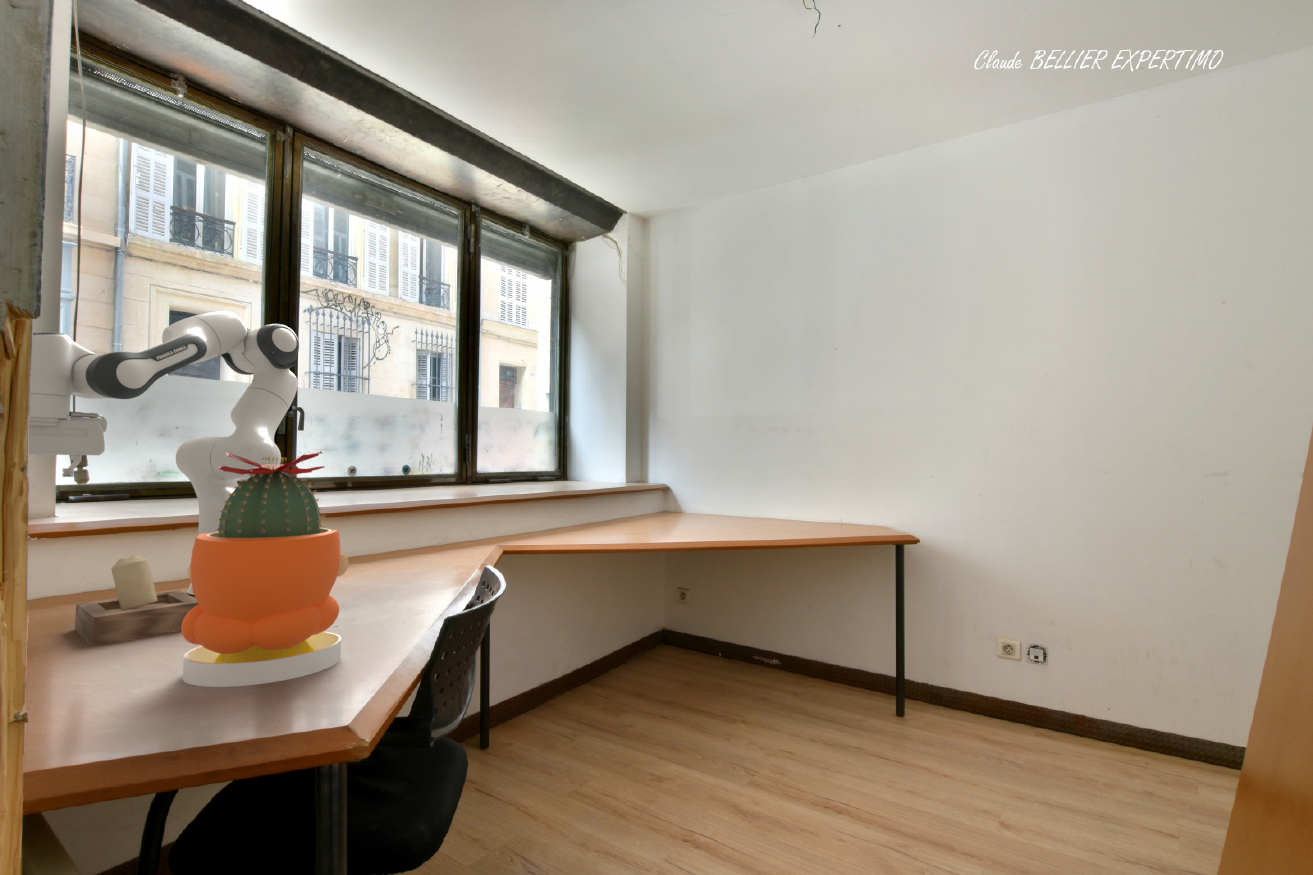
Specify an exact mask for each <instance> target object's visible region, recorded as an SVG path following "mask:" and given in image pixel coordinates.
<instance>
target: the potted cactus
mask: <svg viewBox="0 0 1313 875" xmlns="http://www.w3.org/2000/svg"><path fill="white" fill-rule="evenodd" d="M320 454H321V455H322V454H323V452H322V451H315V452H311V453H309V454H302V455H300V456H299V457H297V458H296V459H295V460H293V461H291V462H288V463H287V462H286V461H287V457H281V463H280V464H277V462H276V464H271V462H270V464H266V465H264V464H263V465H260V464H258V463H255V462H253V461H250V460H247V459H244V458H242V457H239V456H236V455H233V454H230V453H228V452H226V455H227V456H230V457H232V458H235V459H237V460H240V461H242V462H245V463H247V464H250V465H254V466H257V467H259V468H256V469H249V470H245V469H238V468H231V467H227V466H224V467H223V466H219V469H220V470H223V471H226V472H233V473H237V474H242V475H243V474H252V476H251V475H249V476H250V478H249V479H248V478H247V480H246V478H245V480H243V479H241V480H240V479H239V480H238V486H236V485H235V487H234V486H233V487H234V488H236V489H235V490H233V491H232V494H231V492H230V491H229V492H230V497H229V498H228V500H225V501H224V500H223V502H224V503H226V504H225V506H224V508H223V510H221V509H220V508H219V509H220V510H219V511H220V512H222V514H221V518H218V519H214V518H213V520H216V521H220V523H219V529H217V528H215V529H214V530H216V531H219V532H215V531H214V532H215V533H202V534H200V535H198V534H197V535H198V536H197V535H196V536H197V537H196V536H195V539H194V543H193V547H192V550H191V558H190V564H189V566H188V568H187V577H188V579H189V580H190V581H191V582H190V584H191V583H192V588H193V593H194V595H193V596H194V598H196V599H197V601H198V604H199V605H197V606H195V607H194V608H193V609H191V610H190V611H189V612H188V613H187V615H186V616H185V617H184V619H183V621H182V625H181V631H180V632H181V635H182V637H183V638H184V640H186V641H187V642H188V643H189V644H192V645H195V646H197V647H195V648H192V649H190V650H188V651H186V653H184V655H183V666H182V668H183V669H182V681H183V683H186V684H189V685H192V686H197V687H203V688H205V687H206V688H229V687H247V686H254V685H264V684H271V683H278V682H282V681H283V682H284V681H288V680H292V679H298V678H301V677H302V678H303V677H306V676H308V675H312V674H316V673H319V672H321V671H324V669H325V670H327V669H329V668H332V667H334V666H335V665H337V664H338V663H339V662H340V661H341V659H342V658H341V657H342V636H341V635H339V634H337V633H334V632H329V631H327V630H328V629H329V628H330V627H332V626H333V625H334V623H335V622H336V620H337V619H338V617H339V614H340V613H339V612H340V605H339V603H338V601H337V600H336V599H335V598H334V597H333V596H331V595H330V593H331V592H332V589H333V587H334V585H335V583H336V581H337V578H338V577H341V576H343V575H345V573H346V572H347V570H348V568H349V559H348V557H347V556H346V554H344V553H341V540H340V534H339V530H338V529H330V528H326V527H327V526H326V523H325V524H324V523H323V524H321V520H324V519H325V518H327V517H324V516H325V514H324V515H321V514H320V513H321V512H320V511H324V510H325V509H324V506H323V507H322V506H320V507H319V504H318V502H319V501H321V500H322V499H321V498H320V497H317V498H316V497H315V495H316V494H318V491H317V489H315V490H312V489H310V488H312V487H313V485H312V484H313V483H312V482H309V483H306V482H307V476H304V477H302V478H299V477H298V476H300V475H302V474H309V473H312V472H314V471H317V470H321V469H324V468H326V466H322V465H321V466H315V467H314V466H313V467H308V468H300V467H298V466H297V465H298V464H299V463H302V462H305V461H308V460H310V459H314V458H316V457H318V456H319V455H320ZM262 460H264V457H263V458H262ZM268 460H269V461H270V457H268ZM272 460H274V457H273V458H272ZM276 461H277V458H276ZM265 463H266V457H265ZM295 465H296V466H295ZM293 466H295V467H293ZM291 467H293V468H291ZM253 474H254V475H253ZM242 478H243V477H242ZM239 481H240V482H241V483H240V482H239ZM231 484H232V483H231ZM235 484H236V483H235ZM307 484H308V485H307ZM316 491H317V492H316ZM226 492H227V491H226ZM227 493H228V492H227ZM228 495H229V494H228ZM224 499H225V498H224ZM221 500H222V499H221ZM221 500H220V501H221ZM216 511H217V509H216ZM215 513H216V512H215ZM216 518H217V517H216ZM324 525H325V526H324ZM212 531H213V530H212Z"/></svg>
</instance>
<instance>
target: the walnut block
mask: <svg viewBox="0 0 1313 875" xmlns="http://www.w3.org/2000/svg"><path fill="white" fill-rule="evenodd" d="M156 595H157V602H154V603H150V604H147V605H143V606H140V607H136V608H133V609H129V610H124V611H122V610H121V607H120V603H119V599H118V597H117V598H110V599H103V600H96V601H95V600H94V601H86V602H79V603H76V604H75V620H74V630H75V631H76V632H77V634H79V635H80V636H81V637H82V638H83V639H84V640H86V641H87V642H88V643H89V644H90V645H91V646H92V647H95V646H101V645H107V644H112V643H117V642H122V641H123V642H124V641H130V640H134V639H141V638H147V637H153V636H157V635H158V636H159V635H164V634H170V633H175V632H181V625H182V621H183V619H184V617H185V616H186V615H187V613H188V612H189V611H190V610H191V609H193V608H194V607H195V606H197V605H199V604H198V601H197V599H196V597H195V596H191V594H188V593H185V592H182V591H181V590H173V591H165V592H158V593H157V592H156Z"/></svg>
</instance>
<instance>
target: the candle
mask: <svg viewBox="0 0 1313 875" xmlns="http://www.w3.org/2000/svg"><path fill="white" fill-rule="evenodd" d="M150 567H151V566H150V563H149V559H147V558H144V557H142V556H139V555H137V554H135V555H131V556H129V557H128V558H119V559H118V560H117V561H116V562H115V564H114V565H112V567H111V569H110V570H111V573H112V578H113V583H114V585H115V589H116V590H115V592H116V594H117V598H118V599H119V603H120V607H121V610H122V611H124V610H129V609H133V608H136V607H140V606H143V605H147V604H150V603H154V602H157V595H156V593H157V592H156V589H155V588H156V587H155V584H154V580H153V576H152V572H151V568H150Z"/></svg>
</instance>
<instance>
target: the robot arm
mask: <svg viewBox="0 0 1313 875" xmlns="http://www.w3.org/2000/svg"><path fill="white" fill-rule="evenodd" d="M32 333H33V353H32V372H31V401H30V421H29V454H28V455H44V456H45V455H50V456H51V455H55V456H58V455H59V456H70V461H73V462H72V463H71V464H70V465H69V466H68V468H62V477H63V478H73V477H74V473H75V472H74V471H75V469H76V468H77V467H78V465H79V464H81V462H82V459H83V458H82V457H83V456H101V455H102V454H103V453H104V452H105V448H106V444H105V435H104V433H105V432H106V431H107V429H108V428H107V427H108V421H107V419H106V418H105V416H102V415H101V414H99V413H97V412H82V411H71V396H75V397H78V398H82V399H88V400H89V399H95V400H96V399H116V400H117V399H118V400H130V399H134V398H137V397H139V396H141V395H143V394H144V393H145V392H147V391H148V390H149V388H151V386H153V384H154V383H155V382H156V381H157V380H159V379H161V378H162V377H163V376H166V375H168V374H171V373H172V372H174V371H177V370H180V369H181V368H184V367H186V366H188V365H194V364H199V363H202V362H205V361H208V360H212V359H214V358H218V357H219V356H220V357H221V358H223V360H224V362H225V363H226V365H227V366H228V367H229V368H230V369H231V370H232V371H233V372H235V373H237V374H240V375H246V376H247V375H248V376H249V375H250V376H252V375H253V377H252V379H251V383H250V384H249V385H248V387H246V389H245V391H244V392H243V394H242V395H241V397H240V398H239V399H238V400H237V402H236V404H235V405H234V406H233V407H232V409H231V411H230V419H231V421H232V423H233V425H234V426H235V430H234V432H233V433H232V434H231V435H229V436H202V437H198V438H193V439H189V440H186V441H185V442H183V443H182V444H180V445H179V447H178V449H177V450H176V453H175V464H176V467H177V469H178V470H179V471H180V472H181V473H182V474H183V475H184V476H185V477H186V478H188V480H189V481H190V483H191V485H192V488H193V489H194V492H195V495H196V497H197V498H196V499H197V503H198V534H196V536H195V538H196V537H197V536H198V535H200V534H202V533H215V532H219V531H216V530H214V529H215V528H217V529H219V523H220V521H216V520H213V518H214V519H218V518H221V514H222V512H220V511H219V510H220V509H221V510H223V508H224V506H225V504H226V503H224V502H223V500H224V501H225V500H228V498H229V497H230V492H231V494H232V491H233V490H235V489H236V488H234V487H235V485H236V486H238V485H239V483H238V481H239V479H240V481H242V480H241V479H243V480H245V478H246V480H247V478H248V479H249V478H250V476H249V475H251V476H252V474H243V475H242V474H237V473H233V472H226V471H223V470H220V469H219V466H223V467H224V466H227V467H231V468H238V469H245V470H249V469H256V468H259V467H257V466H254V465H250V464H247V463H245V462H242V461H240V460H237V459H235V458H232V457H230V456H227V455H226V452H228V453H230V454H233V455H236V456H239V457H242V458H244V459H247V460H250V461H253V462H255V463H258V464H260V465H263V464H264V465H266V464H270V462H271V464H276V462H277V464H281V463H282V460H281V458H282V454H281V451H280V448H279V447H278V445H277V444H276V443H275V434H276V431H277V429H278V428H279V425H280V424H281V422H282V420H283V419H284V417H285V415H286V414H287V412H288V410H290V407H291V405H292V403H293V401H294V399H295V397H296V394H297V391H298V387H299V380H298V378H297V376H296V375H295V374H294V373H293V372H292V371H291V370H290V369H291V368H293V367H294V366H295V365H296V364H297V356H298V354H299V350H300V342H299V338H298V336H297V334H296V333H295V332H294V330H293V329H292V328H291V327H290V326H289V327H288V326H287V325H285V324H280V323H272V324H271V323H270V324H269V323H268V324H265V325H264V326H261V327H258V328H255V329H252V330H251V328H249V327H247V325H246V324H245V321H243V319H242V318H241V317H240V316H239V315H237V314H236V313H234V312H232V311H229V310H217V311H210V312H205V313H204V312H203V313H199V314H195V315H192V316H189V317H186V318H183V319H180V320H178V321H176V322H174V323H172V324H170V325H169V326H166V327H165V328H164V330H163V331H162V334H161V339H162V340H161V341H162V343H161V344H158V345H155V346H152V347H150V348H147V349H145V350H144V349H143V350H142V351H140V352H139V351H137V352H131V351H115V352H109V353H101V354H100V353H98V354H97V353H96V352H93V351H90V350H89V349H86V348H85V347H84V346H81V345H80V344H78V343H77V342H76V341H74V340H72V338H71V337H70V336H69V334H65V333H62V332H51V331H49V332H43V331H42V332H32ZM263 457H264V460H262V458H263ZM265 457H266V463H265ZM268 457H270V461H269V460H268ZM273 457H274V460H272V458H273ZM276 458H277V461H276ZM253 475H254V474H253ZM242 477H243V478H242ZM231 483H232V484H231ZM235 483H236V484H235ZM233 486H234V487H233ZM226 491H227V492H228V493H227V492H226ZM229 491H230V492H229ZM228 494H229V495H228ZM224 498H225V499H224ZM221 499H222V500H221ZM220 500H221V501H220ZM219 508H220V509H219ZM216 509H217V511H216ZM215 512H216V513H215ZM216 517H217V518H216ZM212 530H213V531H212ZM214 531H215V532H214ZM186 594H188V595H193V596H195V595H194V593H193V588H192V583H191V582H190V584H189V588H188V589H187V592H186Z"/></svg>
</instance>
